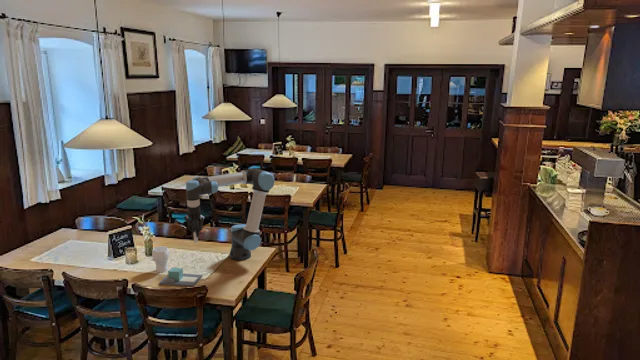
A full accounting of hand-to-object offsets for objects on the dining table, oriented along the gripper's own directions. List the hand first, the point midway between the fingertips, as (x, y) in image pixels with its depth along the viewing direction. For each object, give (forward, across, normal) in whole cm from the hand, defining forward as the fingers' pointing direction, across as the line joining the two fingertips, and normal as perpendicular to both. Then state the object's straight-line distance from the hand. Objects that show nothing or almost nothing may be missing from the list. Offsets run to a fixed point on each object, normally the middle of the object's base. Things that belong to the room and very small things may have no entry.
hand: (196, 241), depth 280 cm
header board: (+24, +9, +6) cm, 27 cm away
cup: (+25, +28, -6) cm, 38 cm away
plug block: (+23, +12, +6) cm, 27 cm away
